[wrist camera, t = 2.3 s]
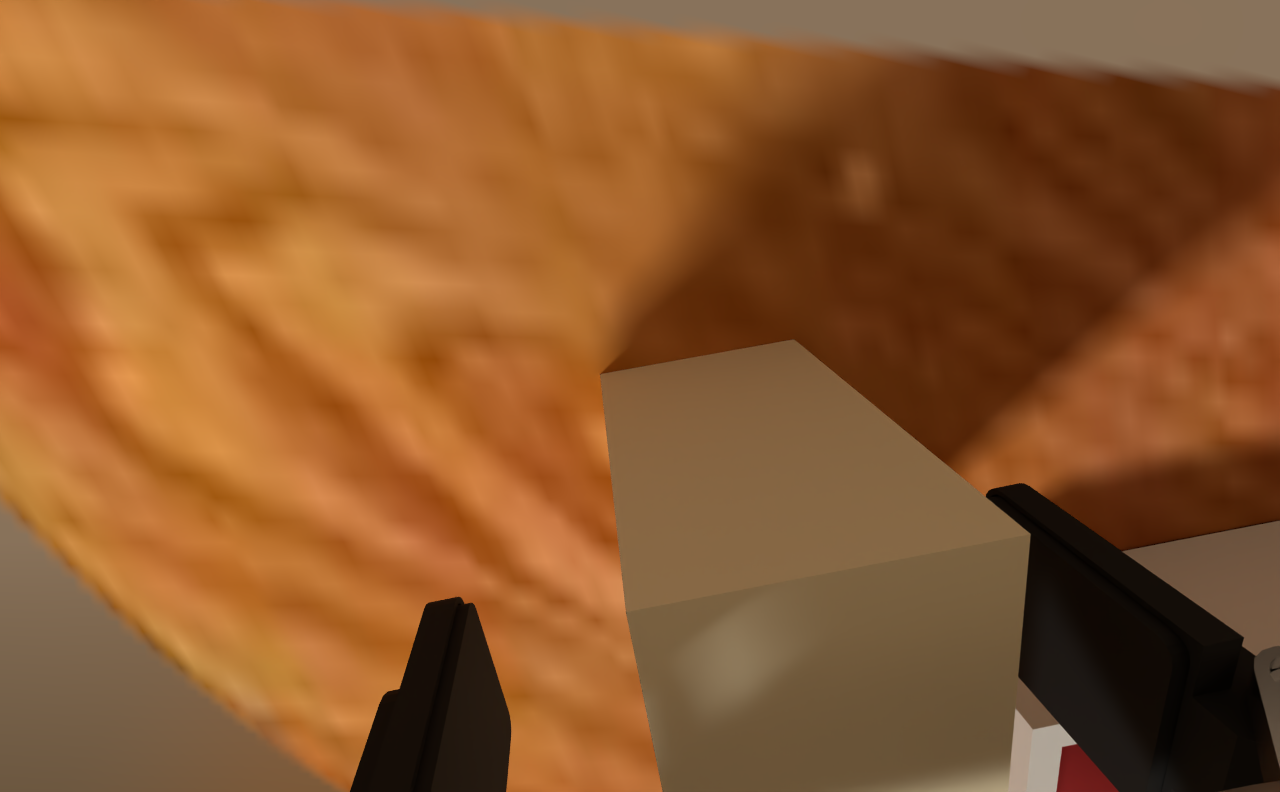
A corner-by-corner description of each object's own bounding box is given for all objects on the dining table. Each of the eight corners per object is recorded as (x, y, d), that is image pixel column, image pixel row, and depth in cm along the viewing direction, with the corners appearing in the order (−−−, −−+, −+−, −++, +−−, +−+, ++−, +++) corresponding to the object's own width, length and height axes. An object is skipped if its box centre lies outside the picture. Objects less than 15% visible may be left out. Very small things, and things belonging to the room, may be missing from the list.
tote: (1347, 507, 18) (1590, 616, 13) (1257, 806, 22) (1416, 958, 18) (921, 590, 17) (1032, 729, 13) (917, 878, 22) (999, 1050, 17)
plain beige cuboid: (793, 338, 14) (1030, 533, 7) (810, 586, 17) (996, 924, 9) (600, 373, 14) (626, 611, 7) (646, 617, 17) (702, 986, 9)
